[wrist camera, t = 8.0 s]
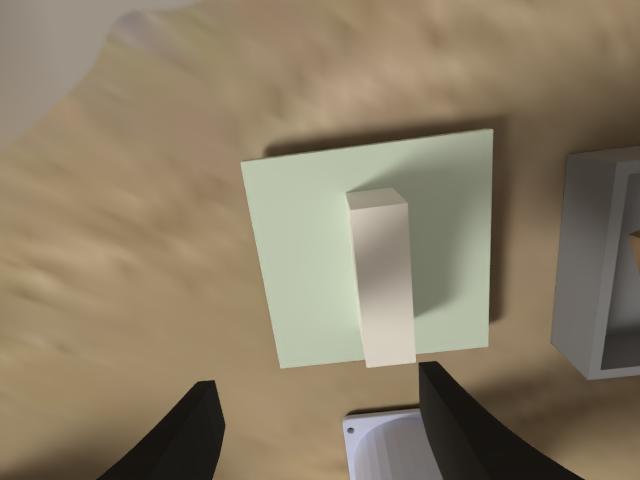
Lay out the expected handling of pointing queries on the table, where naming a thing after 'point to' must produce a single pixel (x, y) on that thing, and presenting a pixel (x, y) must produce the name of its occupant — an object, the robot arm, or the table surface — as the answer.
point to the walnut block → (636, 247)
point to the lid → (375, 248)
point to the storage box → (599, 265)
